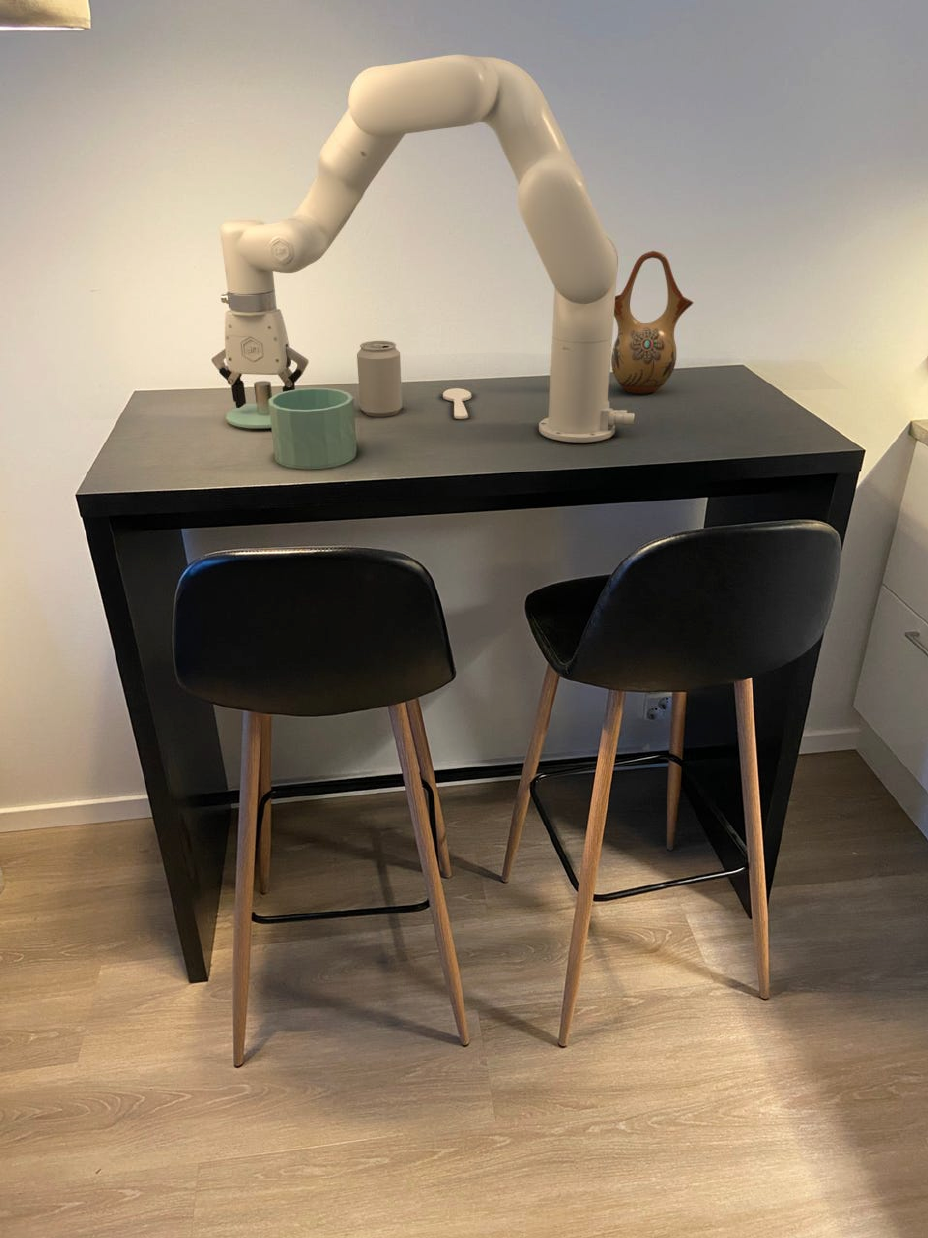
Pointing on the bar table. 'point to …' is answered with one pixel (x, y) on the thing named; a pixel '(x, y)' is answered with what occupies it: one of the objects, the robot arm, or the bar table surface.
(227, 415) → the pot lid
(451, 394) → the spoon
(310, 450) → the pot
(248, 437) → the bar table surface
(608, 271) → the robot arm
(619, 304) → the ceramic vessel
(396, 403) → the can
